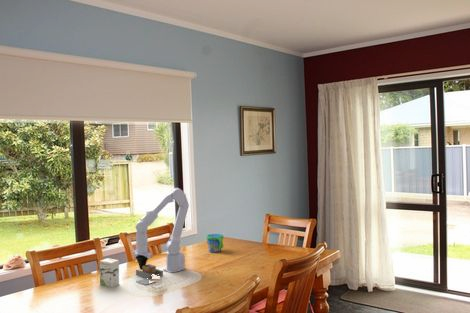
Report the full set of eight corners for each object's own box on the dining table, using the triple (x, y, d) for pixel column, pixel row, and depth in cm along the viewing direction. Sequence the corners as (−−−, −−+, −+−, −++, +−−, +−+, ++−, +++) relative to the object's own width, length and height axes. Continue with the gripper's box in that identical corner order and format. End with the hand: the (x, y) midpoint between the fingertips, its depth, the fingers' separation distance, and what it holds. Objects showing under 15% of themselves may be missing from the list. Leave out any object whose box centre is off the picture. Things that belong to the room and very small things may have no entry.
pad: (146, 279, 211) (146, 278, 211) (155, 282, 206) (155, 281, 206) (136, 281, 207) (136, 281, 207) (145, 285, 201) (145, 284, 201)
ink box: (99, 284, 204) (98, 260, 204) (107, 281, 208) (106, 257, 208) (112, 287, 200) (111, 262, 200) (119, 284, 204) (119, 259, 204)
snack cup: (228, 253, 260) (227, 236, 260) (212, 255, 255) (212, 238, 255) (217, 247, 274) (217, 232, 273) (202, 250, 269) (202, 234, 268)
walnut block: (149, 273, 221) (149, 264, 221) (155, 275, 217) (155, 265, 217) (142, 275, 218) (142, 265, 217) (148, 277, 214) (148, 267, 214)
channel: (149, 271, 224) (149, 266, 224) (163, 275, 216) (162, 270, 216) (136, 274, 218) (135, 270, 218) (149, 279, 210) (149, 274, 210)
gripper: (127, 243, 223) (128, 268, 224) (143, 247, 213) (143, 273, 214) (139, 240, 228) (139, 265, 229) (154, 244, 218) (155, 270, 219)
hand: (142, 269), depth 222 cm, fingers closed
